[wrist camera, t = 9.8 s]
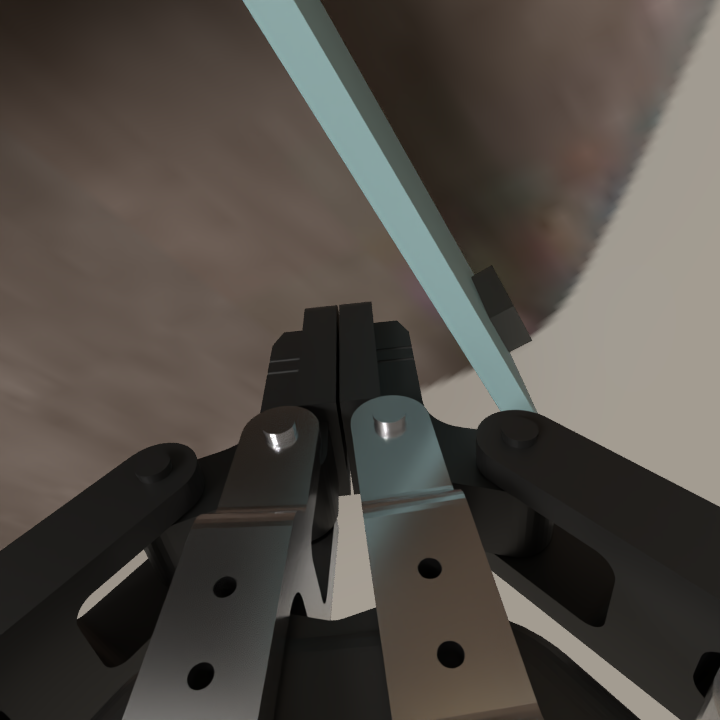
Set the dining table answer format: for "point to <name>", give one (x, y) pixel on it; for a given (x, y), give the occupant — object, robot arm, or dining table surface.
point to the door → (397, 192)
